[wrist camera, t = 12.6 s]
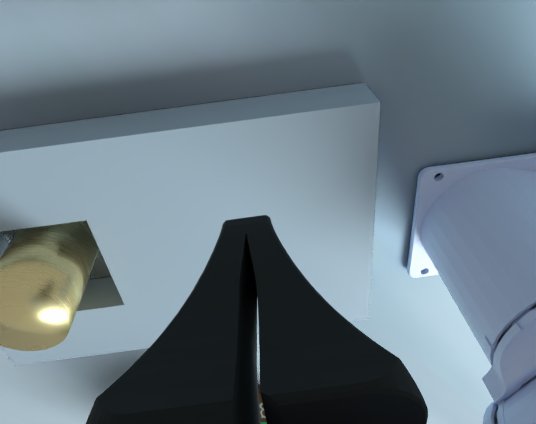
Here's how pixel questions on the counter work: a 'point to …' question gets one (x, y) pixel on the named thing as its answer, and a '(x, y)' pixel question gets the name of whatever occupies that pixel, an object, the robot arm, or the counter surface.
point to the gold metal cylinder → (44, 283)
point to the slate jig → (198, 201)
